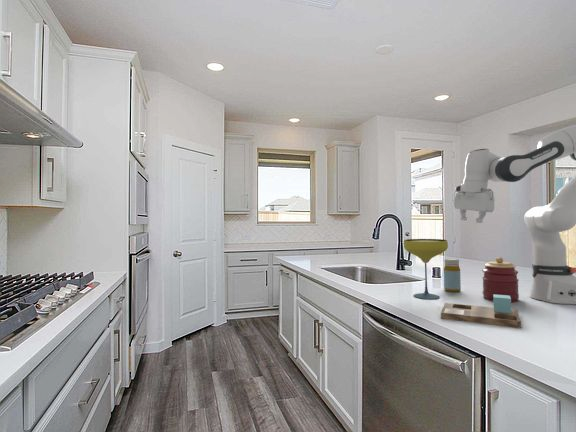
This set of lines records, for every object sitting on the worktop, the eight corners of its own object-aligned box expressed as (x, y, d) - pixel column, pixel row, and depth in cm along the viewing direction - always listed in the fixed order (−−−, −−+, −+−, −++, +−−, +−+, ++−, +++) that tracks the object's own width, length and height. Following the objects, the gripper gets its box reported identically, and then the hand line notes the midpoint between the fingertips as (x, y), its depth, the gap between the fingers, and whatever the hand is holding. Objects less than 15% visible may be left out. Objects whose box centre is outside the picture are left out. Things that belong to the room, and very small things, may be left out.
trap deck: (517, 315, 117) (517, 309, 117) (521, 328, 105) (521, 321, 105) (445, 307, 129) (445, 302, 129) (440, 318, 116) (440, 312, 116)
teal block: (510, 309, 118) (510, 295, 118) (511, 313, 113) (510, 298, 113) (493, 308, 120) (493, 294, 120) (494, 311, 116) (493, 297, 116)
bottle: (463, 292, 155) (462, 259, 155) (448, 292, 155) (447, 260, 156) (456, 288, 162) (455, 258, 162) (441, 289, 162) (441, 258, 163)
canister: (525, 303, 134) (524, 259, 134) (489, 302, 136) (488, 258, 137) (510, 295, 147) (509, 255, 147) (478, 295, 149) (477, 255, 149)
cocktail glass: (401, 291, 158) (400, 239, 158) (442, 292, 155) (440, 238, 156) (409, 301, 140) (407, 241, 141) (455, 302, 138) (453, 241, 138)
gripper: (500, 189, 129) (496, 224, 130) (465, 188, 149) (462, 219, 150) (486, 188, 128) (482, 224, 129) (452, 187, 148) (449, 218, 150)
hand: (471, 221), depth 140 cm, fingers open, 8 cm apart
